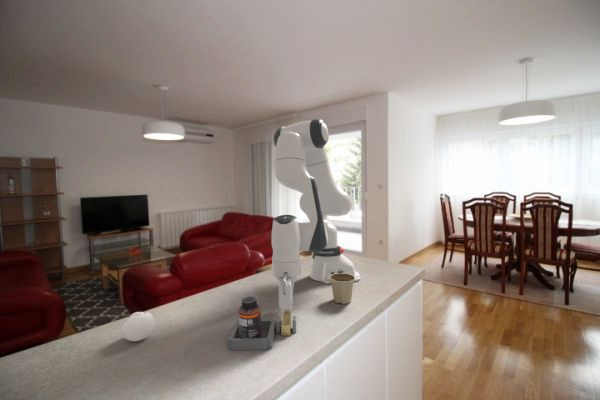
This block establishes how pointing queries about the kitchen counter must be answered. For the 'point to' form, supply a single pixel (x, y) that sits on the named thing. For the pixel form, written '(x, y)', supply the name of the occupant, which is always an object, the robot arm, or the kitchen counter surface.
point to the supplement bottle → (250, 318)
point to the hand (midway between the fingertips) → (287, 311)
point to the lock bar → (286, 324)
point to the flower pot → (342, 287)
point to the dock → (257, 343)
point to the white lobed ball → (138, 326)
